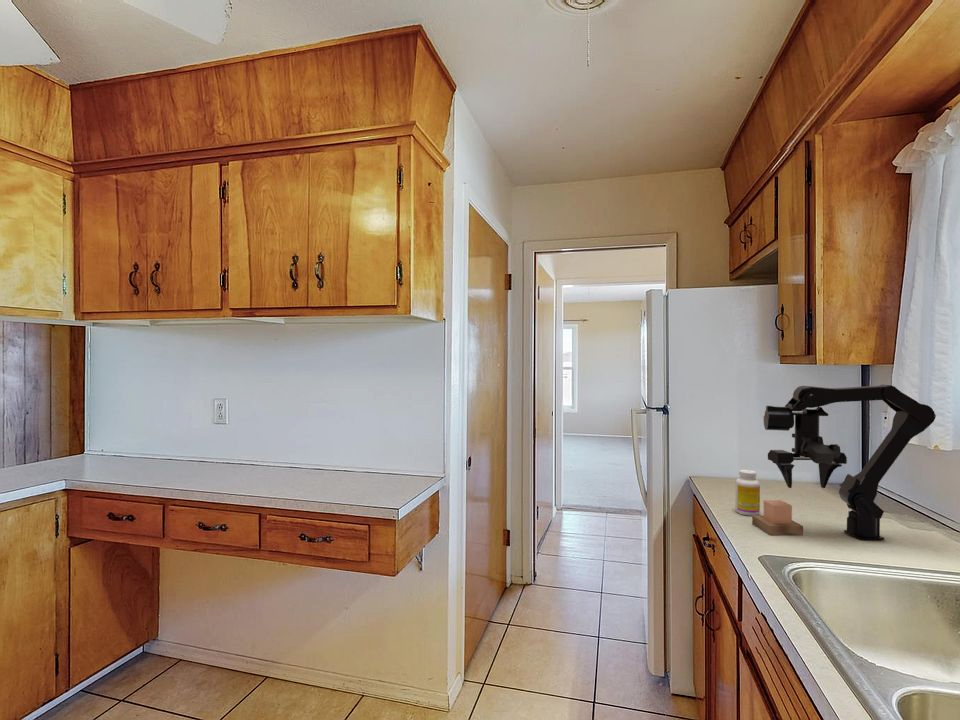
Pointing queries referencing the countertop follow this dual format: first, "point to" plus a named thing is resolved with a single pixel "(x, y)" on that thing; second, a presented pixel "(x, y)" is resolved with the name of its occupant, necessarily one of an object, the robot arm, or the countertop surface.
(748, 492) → the supplement bottle
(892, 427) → the robot arm
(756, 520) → the brown block
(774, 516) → the cube
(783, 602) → the countertop surface
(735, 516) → the countertop surface
